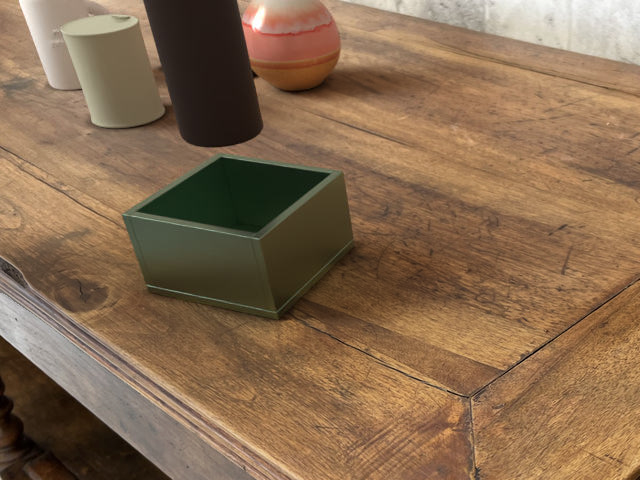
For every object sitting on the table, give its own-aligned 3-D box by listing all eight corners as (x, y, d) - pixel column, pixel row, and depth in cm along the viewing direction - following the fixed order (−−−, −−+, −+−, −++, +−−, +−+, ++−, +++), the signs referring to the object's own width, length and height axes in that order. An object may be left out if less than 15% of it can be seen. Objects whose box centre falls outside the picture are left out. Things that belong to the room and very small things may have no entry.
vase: (365, 79, 117) (349, -57, 106) (297, 107, 108) (271, -37, 97) (299, 63, 123) (277, -67, 112) (229, 89, 114) (197, -49, 103)
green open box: (148, 292, 72) (120, 214, 67) (237, 225, 82) (219, 152, 77) (278, 320, 68) (259, 239, 63) (355, 245, 78) (343, 170, 73)
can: (180, 111, 107) (153, 16, 100) (121, 133, 101) (89, 34, 94) (135, 99, 111) (107, 6, 104) (76, 120, 105) (42, 23, 98)
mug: (144, 73, 120) (118, -14, 112) (65, 94, 113) (32, 3, 105) (117, 62, 124) (91, -22, 117) (40, 81, 117) (7, -7, 110)
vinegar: (208, 156, 64) (130, -141, 51) (166, 134, 67) (84, -148, 55) (280, 132, 68) (224, -150, 55) (237, 113, 71) (175, -156, 59)
